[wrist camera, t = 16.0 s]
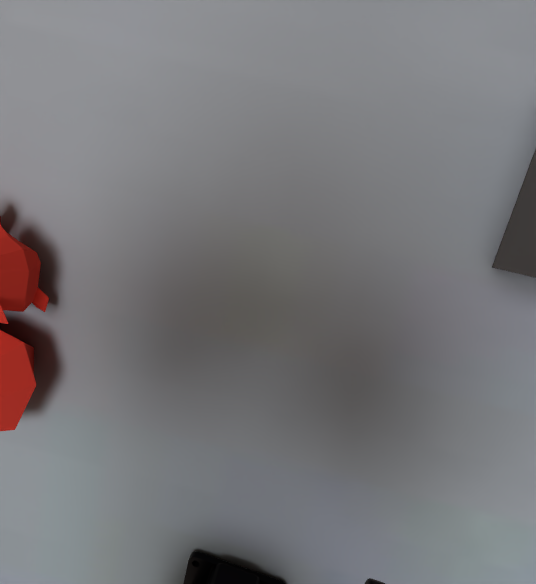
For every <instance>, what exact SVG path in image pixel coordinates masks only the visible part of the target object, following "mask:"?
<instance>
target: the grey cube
mask: <svg viewBox="0 0 536 584" xmlns="http://www.w3.org/2000/svg"><path fill="white" fill-rule="evenodd" d="M492 267H493V268H497V269H502V270H506V271H510V272H514V273H518V274H523V275H527V276H531V277H535V278H536V151H535V153H534V156H533V159H532V161H531V164H530V167H529V169H528V172H527V175H526V178H525V180H524V183H523V186H522V188H521V191H520V194H519V196H518V199H517V202H516V204H515V207H514V210H513V213H512V215H511V218H510V221H509V223H508V226H507V229H506V231H505V234H504V237H503V240H502V242H501V245H500V248H499V250H498V253H497V256H496V258H495V261H494V264H493V266H492Z"/></svg>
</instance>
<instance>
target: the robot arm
mask: <svg viewBox="0 0 536 584" xmlns="http://www.w3.org/2000/svg"><path fill="white" fill-rule="evenodd" d="M184 584H285V583H284V582H283V581H281V580H278V579H275V578H272V577H269V576H266V575H263V574H261V573H258V572H255V571H252V570H249V569H246V568H244V567H241V566H238V565H235V564H232V563H229V562H226V561H224V560H221V559H218V558H215V557H212V556H209V555H206V554H204V553H201V552H197V551H196V552H193V553H192V554H191V556H190V559H189V561H188V566H187V570H186V575H185V580H184ZM365 584H385V583H383V582H380V581H377V580H374V579H371V578H369V579H367V580H366V582H365Z"/></svg>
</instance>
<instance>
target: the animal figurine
mask: <svg viewBox="0 0 536 584" xmlns="http://www.w3.org/2000/svg"><path fill="white" fill-rule="evenodd" d="M40 266H41V262H40V260H39V257H38V255H37V252H35V251H34V250H32V249H31V248H29V247H27V246H26V245H24V244H23V243H21V242H19V241H18V240H17V239H15V238H14V237H13V236H11V235H10V234H9V233H7V232H6V231H5V230H4V229H3V228H2V226H1V216H0V323H5V324H8V322H7V319H6V317H5V314H4V312H3V310H9V311H22V312H23V311H24V310H25V309H26V308H27V307H28V306H29V305H30V304H31V303H33V304H34V305H35V306H36V307H37V308H39V309H41V310H42V311H44V312H45V310H46V307H47V304H48V301H49V297H48V296H47V295H45V294H44V293H43V292H42V291H41V290H40V289H39V288H38V282H39V274H40ZM35 387H36V381H35V377H34V347H32V346H30V345H28V344H26V343H24V342H23V341H21V340H19V339H17V338H15V337H13V336H12V335H10V334H8V333H6V332H4V331H2V330H0V431H7V430H15V428H16V426H17V424H18V422H19V420H20V418H21V416H22V414H23V412H24V410H25V408H26V406H27V404H28V401H29V399H30V397H31V395H32V393H33V391H34V389H35Z"/></svg>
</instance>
